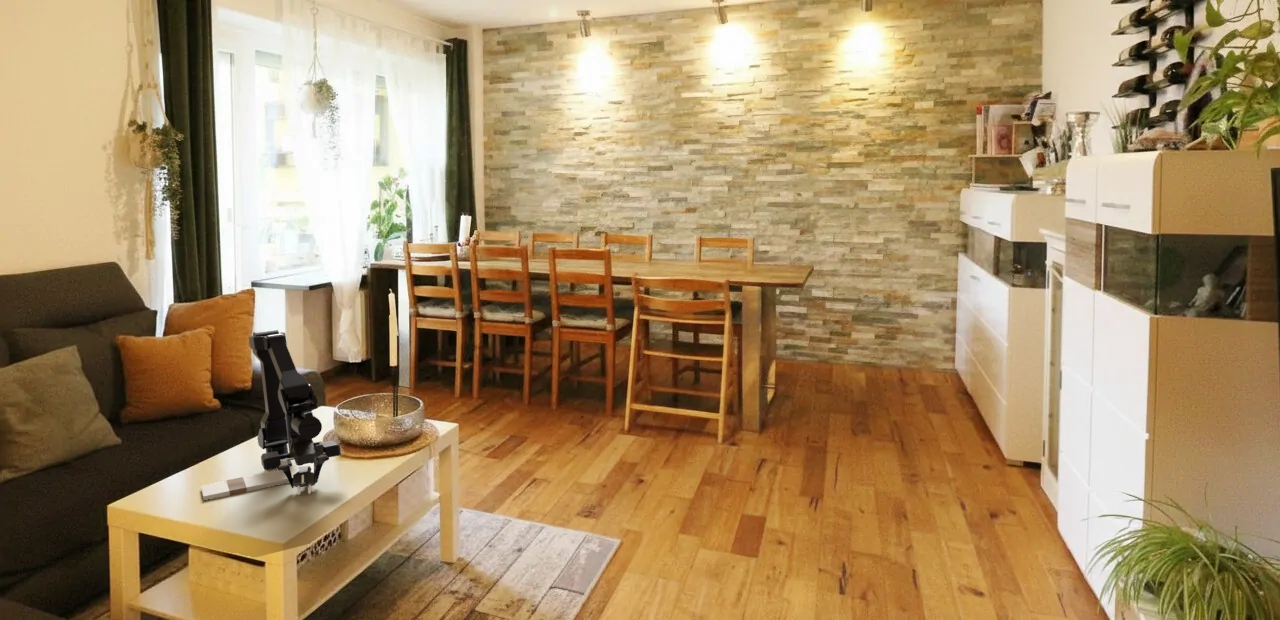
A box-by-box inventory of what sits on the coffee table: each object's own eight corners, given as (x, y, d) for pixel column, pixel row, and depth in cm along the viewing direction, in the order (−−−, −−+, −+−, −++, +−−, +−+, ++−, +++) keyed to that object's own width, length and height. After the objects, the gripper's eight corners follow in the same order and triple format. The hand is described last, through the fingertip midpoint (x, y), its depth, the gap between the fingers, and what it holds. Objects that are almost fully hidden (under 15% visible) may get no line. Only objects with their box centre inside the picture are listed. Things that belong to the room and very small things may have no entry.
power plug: (320, 473, 213) (314, 462, 202) (320, 501, 210) (314, 491, 199) (298, 476, 211) (290, 465, 201) (298, 503, 208) (290, 493, 198)
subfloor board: (201, 489, 205) (201, 485, 205) (313, 467, 220) (312, 462, 220) (203, 500, 198) (203, 496, 198) (318, 476, 213) (318, 472, 213)
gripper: (264, 445, 190) (270, 504, 193) (342, 430, 200) (347, 487, 203) (257, 432, 199) (264, 489, 202) (333, 419, 209) (338, 473, 212)
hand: (304, 485), depth 204 cm, fingers closed on power plug, 5 cm apart
